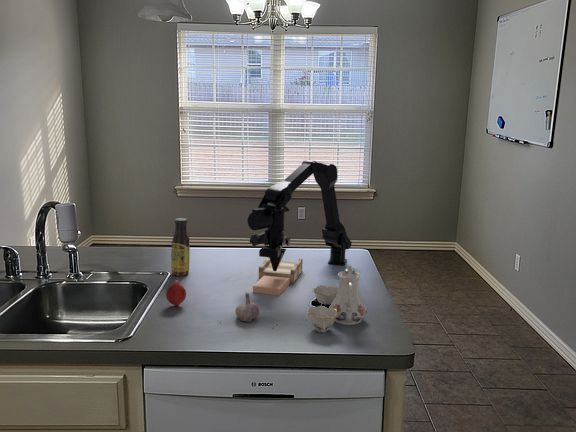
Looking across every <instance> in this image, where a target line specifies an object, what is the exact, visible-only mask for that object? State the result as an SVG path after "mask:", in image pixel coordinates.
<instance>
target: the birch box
mask: <svg viewBox="0 0 576 432" xmlns="http://www.w3.org/2000/svg"><path fill="white" fill-rule="evenodd" d="M303 261H304V259H303V258H298V260H297V261H286V260H281V262H280V264H279V266H278V269H277V271H273V268H272V265H271V261H270V258H269V257H266V259H265V260H264V261H263V262H262V263H261V264H260V265H259V266H258V281H259V280H260V279H261V278H262V277H263V276H264V275H270V276H279V277H287V278H290V284H294V283H295V282H296V281H297V279H298V278H299V276H300V274H301V273H302V272H303Z"/></svg>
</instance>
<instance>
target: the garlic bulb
mask: <svg viewBox="0 0 576 432" xmlns="http://www.w3.org/2000/svg"><path fill="white" fill-rule="evenodd" d="M244 294H245V303H240V304H238V305H237V306H236V307H235V314H236V317H237V318H238V319H239V320H240V321H243V322H245V323H251V322H252V321H253V320H254V319H255V318H257V317H258V316H259V315H260V309H259V305H258V304H257V303H255V302H251V300H250V293H249V292H247V291H246V292H245V293H244Z"/></svg>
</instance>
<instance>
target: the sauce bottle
mask: <svg viewBox="0 0 576 432" xmlns="http://www.w3.org/2000/svg"><path fill="white" fill-rule="evenodd" d="M187 223H188V219H187V218H184V217H179V218H178V217H177V218H175V219H174V224H175V229H174V230H175V231H174V235H173V237H172V240H171V249H170V250H171V254H170V255H171V258H170V259H171V263H170V264H171V265H170V267H171V268H170V269H171V274H172V275H173V276H175V275H176V276H175V277H177V276H178V277H184V276H187V275H188V274H189V272H190V254H191V253H190V248H191V247H190V236H189V234H188V233H187V231H188V230H187Z"/></svg>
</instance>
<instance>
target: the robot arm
mask: <svg viewBox="0 0 576 432" xmlns="http://www.w3.org/2000/svg"><path fill="white" fill-rule="evenodd" d="M312 175H313V177H314V180H315V182H316V184H317V185H318V187H319V189H320V191H321V198H322V203H323V211H324V216H325V222H326V223H325V226H324V227H323V228H322V229H321V232H322V239H324V243H325V246H328V247H330V250H329V251H330V253H329V254H330V255H329V256H330V257H329V260H328V262H327V264H328V265H329V264H330V265H340V266H341V265H342V266H345V265H346V264H347V261H348V259H347V258H346V250H349V249H351V247H352V240H351V239H350V238H349V237H348V235H347V234H348V233H347V231H346V228H345V226H344V224H342V222H341V220H340V214H339V207H338V201H337V195H336V188H335V185H336V183H337V181H338V168H337V165H335V164H334V163H328V162H327V163H326V162H320V161H319V162H318V161H316V160H311V159H306V160H303V161H302V162H301V164H300V165H299V166H298V167H297V168H296V169H295V170H294V171H293V172H292V173H290V174H289V175H288V176H287V177H286V178H284V180H283V181H281V182H278V183H275V184H273V185H271V186H270V187H268V188H267V189H266V190H265V191H264V195H263V197H262V199H261V201H260V203H259V204H258V206H257V207H258V208H252V209H251V213H249V215H248V218H247V225H248V228H249V229H251V230H252V231H260V230H263V229H264V231H262V232H259V233H254V234H251V235H250V237H249V244H251V246H252V247H256V246H259V245H262V244H263V247H261V248H260V249H259V250H258V251H259V252H258V257H262V258H268V257H269V258H270V261H271V265H272V268H273V271H277V269H278V266H279V264H280V262H281V261H283V257H284V255H285V253H286V251H287V249H286V248H283V246H284V245H286V246H287V247H288V246H290V245H291V238H290V237H289V236H288V235H285V232H286V231H287V228H286V227H285V221H286V220H285V219H286V218H285V217H286V216H285V215H286V212H290V208H288V207H287V204H288V203H289V202H290V201H291V200H292V197H293V193H294V192H295V191H296V190H298V188H299V187H300V186H301V185H302V184H303V183H305V182H306V180H308V178H310V176H312Z"/></svg>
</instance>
